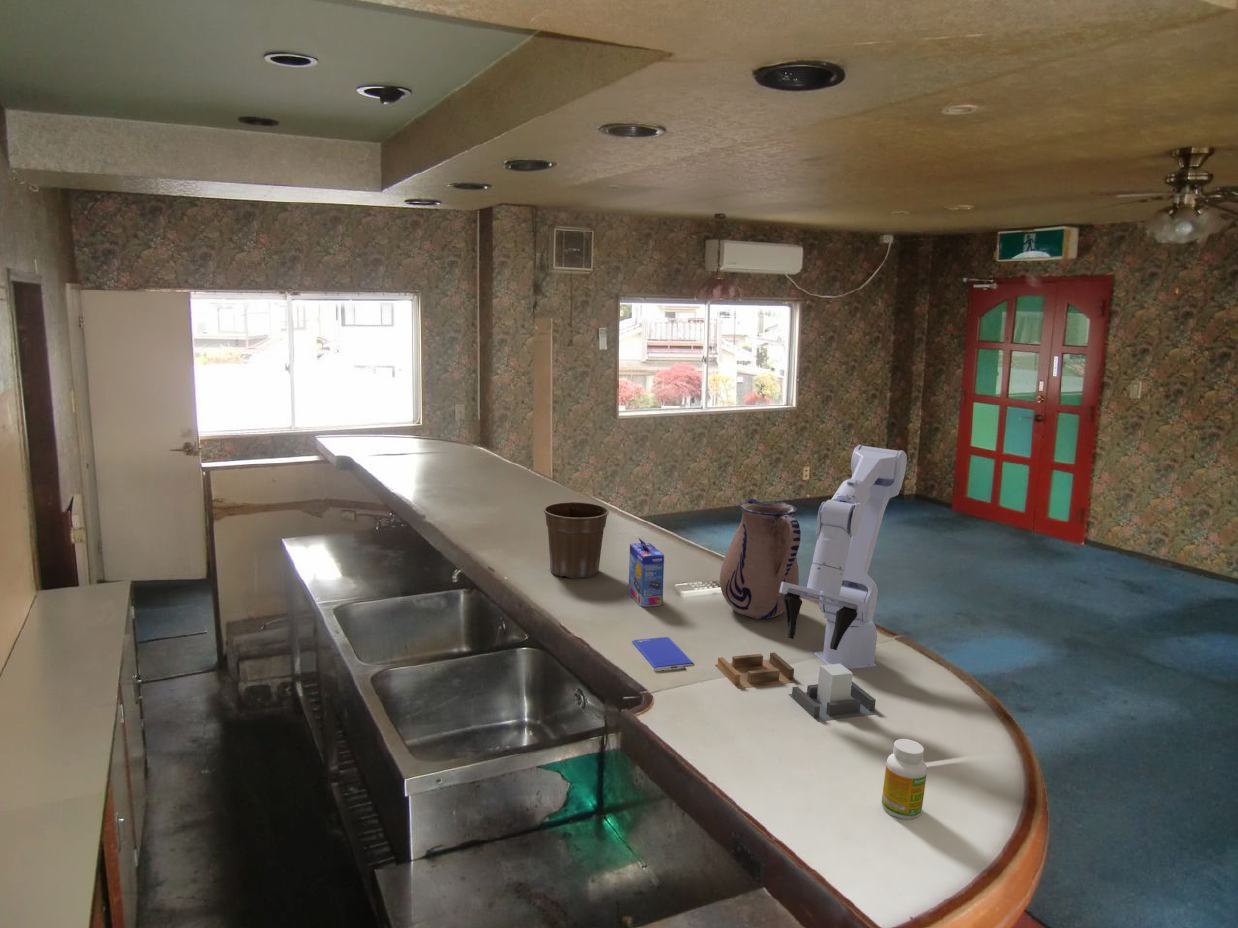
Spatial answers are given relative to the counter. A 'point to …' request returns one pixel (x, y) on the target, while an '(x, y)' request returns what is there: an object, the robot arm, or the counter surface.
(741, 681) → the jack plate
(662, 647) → the hard drive
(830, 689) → the plug block
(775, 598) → the ceramic pitcher
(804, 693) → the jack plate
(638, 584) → the ink cartridge box
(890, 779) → the supplement bottle
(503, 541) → the counter surface
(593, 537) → the plant pot
